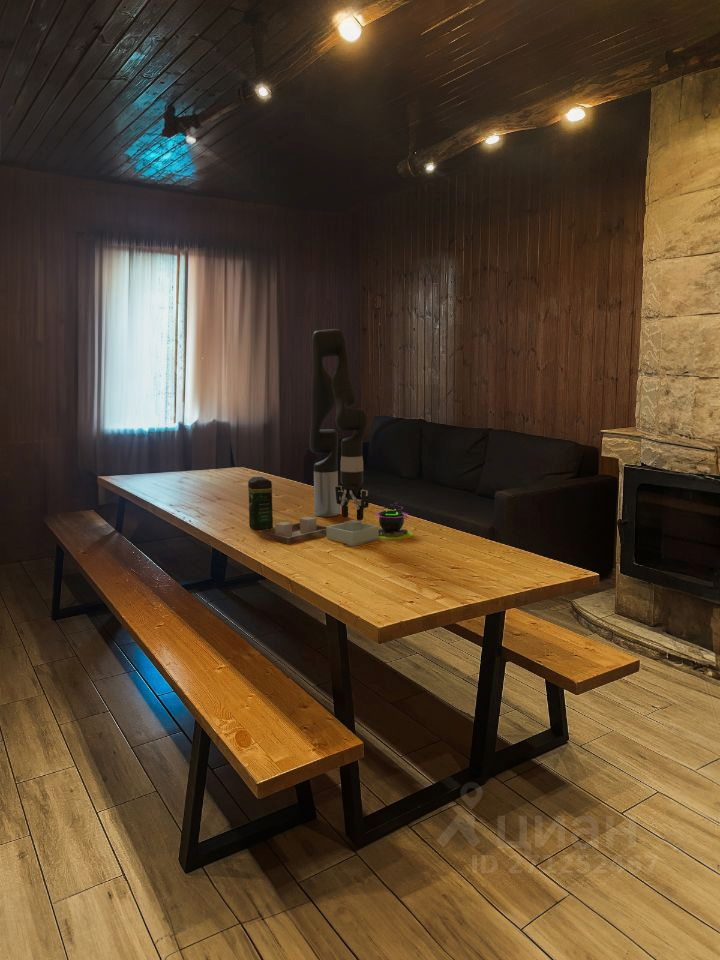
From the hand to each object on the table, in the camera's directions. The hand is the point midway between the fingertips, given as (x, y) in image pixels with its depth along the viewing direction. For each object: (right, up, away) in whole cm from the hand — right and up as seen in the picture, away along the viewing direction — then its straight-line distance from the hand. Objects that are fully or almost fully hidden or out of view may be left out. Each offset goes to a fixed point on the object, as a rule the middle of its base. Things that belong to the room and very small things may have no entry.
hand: (352, 518), depth 237 cm
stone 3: (0, -6, +1) cm, 6 cm away
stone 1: (-23, -6, -1) cm, 24 cm away
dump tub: (0, -7, -2) cm, 7 cm away
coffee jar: (-33, -5, +16) cm, 37 cm away
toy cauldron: (+13, -6, +6) cm, 16 cm away
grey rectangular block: (-15, -5, +7) cm, 17 cm away
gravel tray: (-19, -6, +3) cm, 20 cm away
